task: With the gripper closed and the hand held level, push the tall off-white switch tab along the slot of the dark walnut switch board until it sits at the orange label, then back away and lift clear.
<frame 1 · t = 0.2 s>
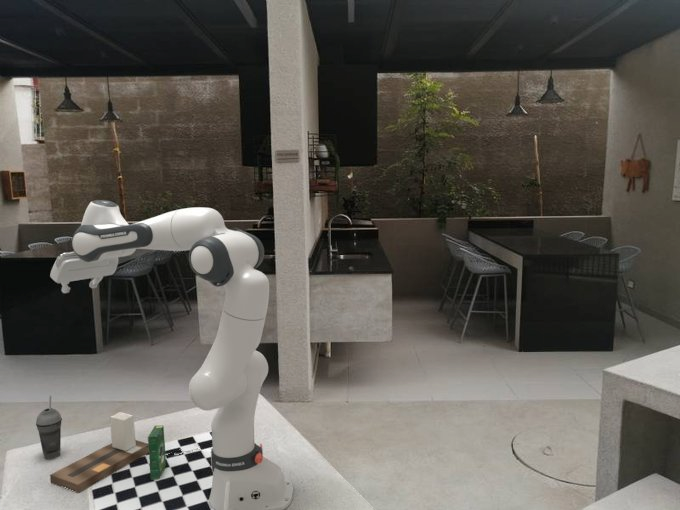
hand: (79, 289, 162), 54 cm above the table, tool tilted 25°, fingers open, 8 cm apart
switch tab: (122, 431, 169), point 8 cm above the table, slide at 0.0 cm
switch board: (103, 466, 162), on the table
scissors: (201, 451, 172), on the table
beverage cup: (52, 456, 170), on the table
coffee box: (158, 473, 158), on the table
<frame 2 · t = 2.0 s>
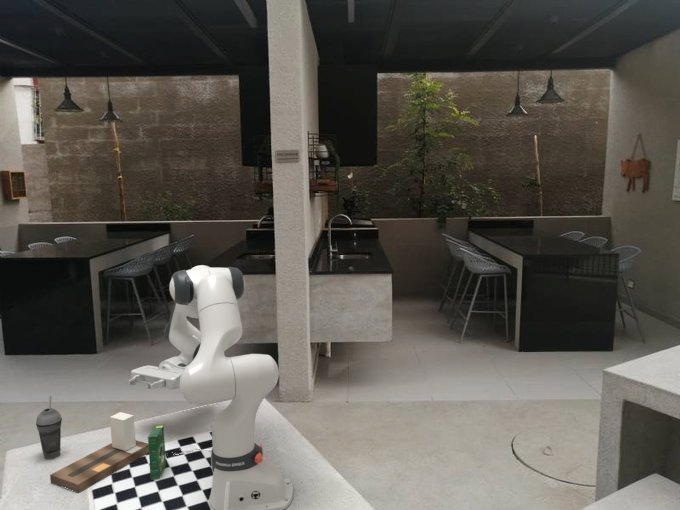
hand: (140, 385, 174), 20 cm above the table, tool horizontal, fingers open, 7 cm apart
nothing on the table moved.
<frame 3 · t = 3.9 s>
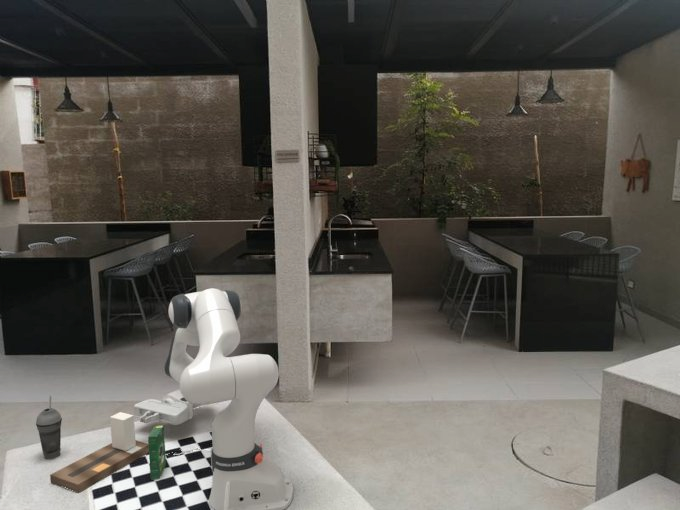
hand: (142, 420, 176), 8 cm above the table, tool horizontal, fingers closed
nothing on the table moved.
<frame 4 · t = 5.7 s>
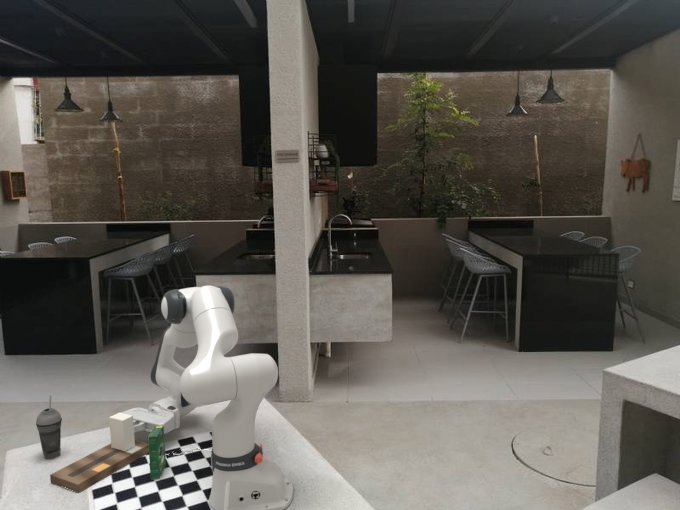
hand: (127, 430, 170), 7 cm above the table, tool horizontal, fingers closed, pressing on switch tab
switch tab: (122, 431, 168), point 8 cm above the table, slide at 0.3 cm, touching gripper
everything else where it was.
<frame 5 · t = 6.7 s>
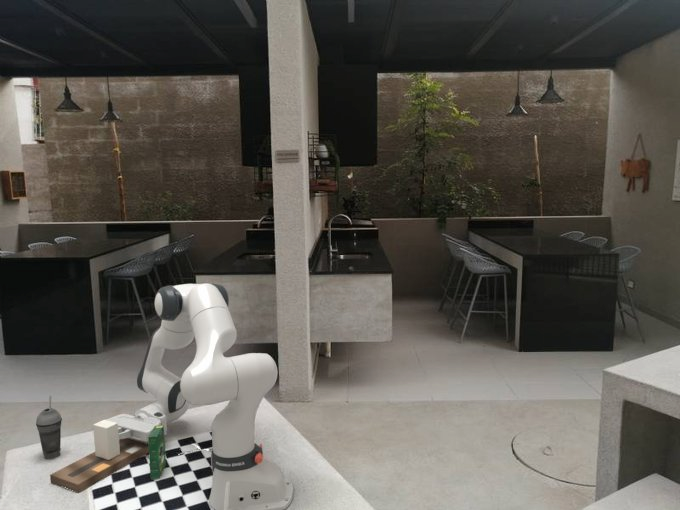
hand: (112, 438, 165), 7 cm above the table, tool horizontal, fingers closed, pressing on switch tab
switch tab: (106, 439, 163), point 8 cm above the table, slide at 6.1 cm, touching gripper
everything else where it was.
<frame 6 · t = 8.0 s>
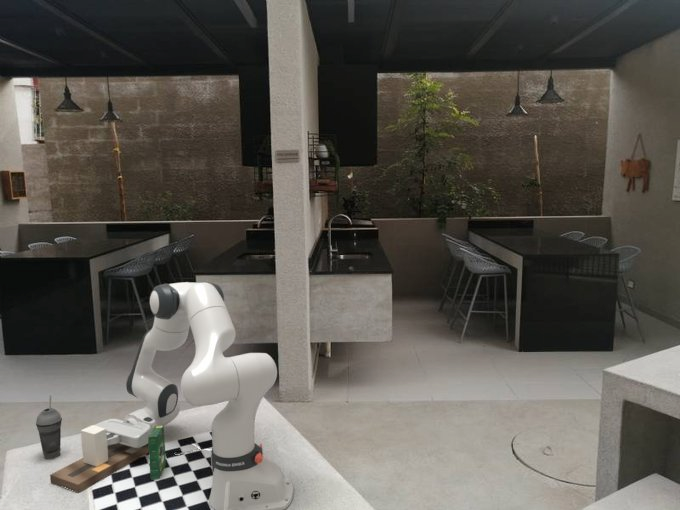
hand: (100, 443, 161), 7 cm above the table, tool horizontal, fingers closed, pressing on switch tab
switch tab: (94, 445, 159), point 8 cm above the table, slide at 10.4 cm, touching gripper
everything else where it was.
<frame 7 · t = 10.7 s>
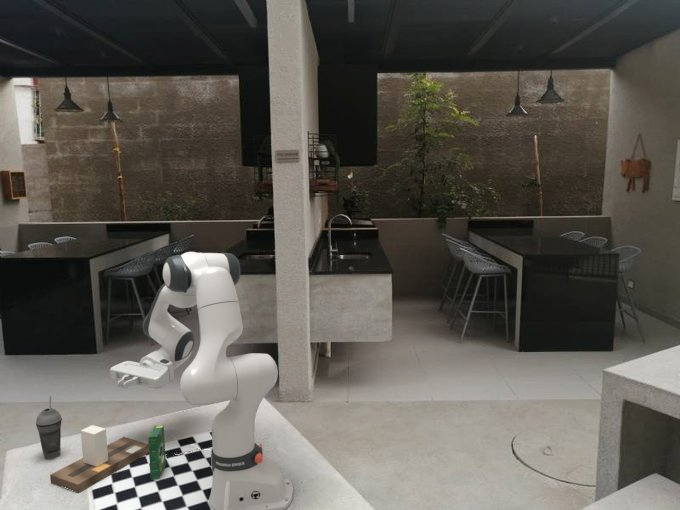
hand: (121, 385, 166), 23 cm above the table, tool horizontal, fingers closed
switch tab: (94, 445, 159), point 8 cm above the table, slide at 10.4 cm
everything else where it was.
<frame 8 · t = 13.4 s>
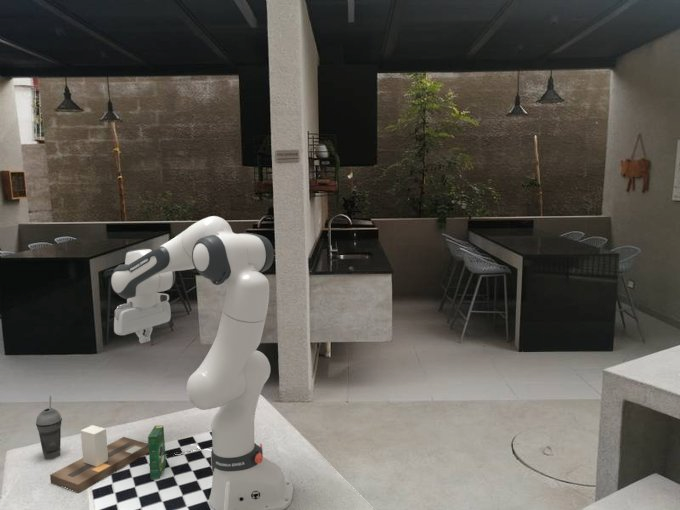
hand: (144, 342, 170), 35 cm above the table, tool pointing down, fingers closed
nothing on the table moved.
at the end: switch tab slide at 10.4 cm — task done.
